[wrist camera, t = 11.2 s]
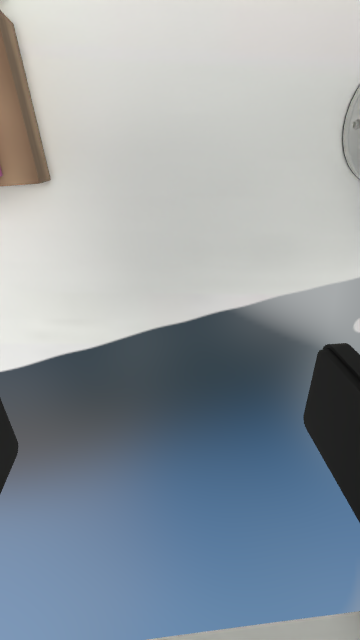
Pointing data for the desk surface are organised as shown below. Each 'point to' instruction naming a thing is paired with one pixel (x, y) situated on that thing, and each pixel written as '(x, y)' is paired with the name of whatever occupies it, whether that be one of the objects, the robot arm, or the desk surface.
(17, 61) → the walnut base
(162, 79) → the desk surface
